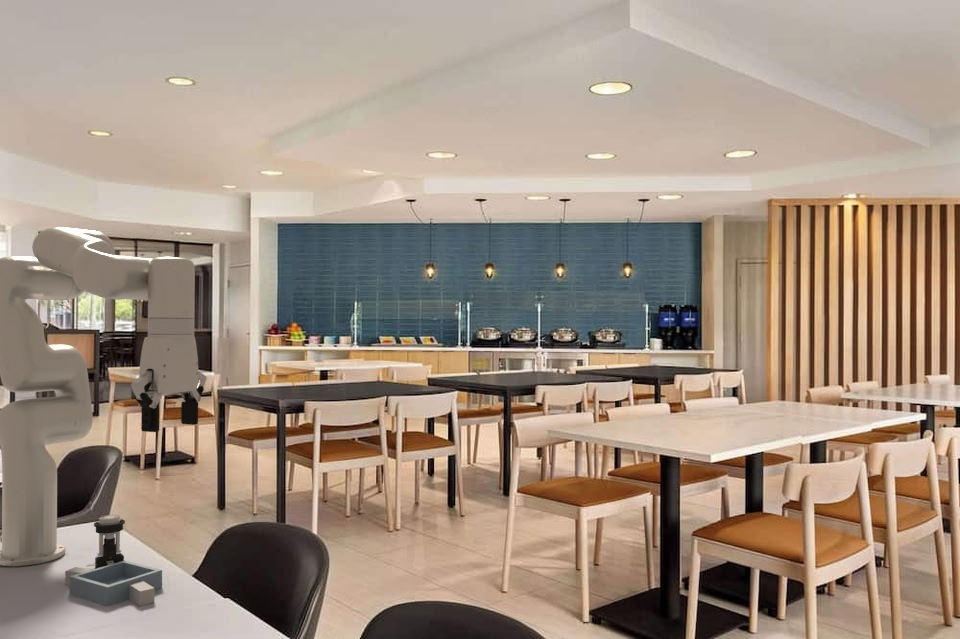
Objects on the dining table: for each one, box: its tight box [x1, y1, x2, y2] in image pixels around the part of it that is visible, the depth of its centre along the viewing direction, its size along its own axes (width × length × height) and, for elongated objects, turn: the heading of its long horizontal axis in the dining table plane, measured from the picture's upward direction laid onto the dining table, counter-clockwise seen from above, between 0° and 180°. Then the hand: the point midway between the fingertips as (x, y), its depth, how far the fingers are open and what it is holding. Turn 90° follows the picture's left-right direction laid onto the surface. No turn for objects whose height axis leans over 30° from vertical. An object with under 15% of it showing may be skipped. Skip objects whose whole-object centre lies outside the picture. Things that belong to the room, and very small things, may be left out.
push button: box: [85, 514, 126, 569], centre depth 149 cm, size 7×5×10 cm
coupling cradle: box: [64, 559, 163, 607], centre depth 138 cm, size 22×11×3 cm, turn 60°
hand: (170, 427), depth 136 cm, fingers open, 9 cm apart
